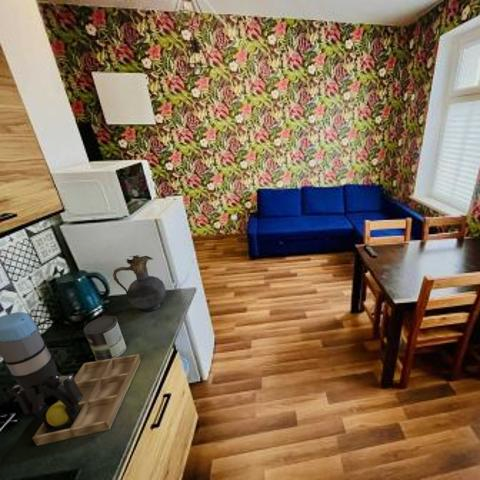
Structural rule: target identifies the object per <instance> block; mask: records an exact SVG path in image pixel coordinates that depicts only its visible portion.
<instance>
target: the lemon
mask: <svg viewBox="0 0 480 480" xmlns="http://www.w3.org/2000/svg"><path fill="white" fill-rule="evenodd" d="M49 407H50V408H49V409H48V411H47V413H46V420H47V422H48V423H49V424H50V425H51V426H60V425H63V424H65V423H66V422H67V421H68V420H69V419H70V418H69V416H68V414H67V413H66V411H65V408H66V407H67V406H65V405H64V404H63V403H62V402H58V401H57V402H55V403H53V404H52V405H50V406H49Z"/></svg>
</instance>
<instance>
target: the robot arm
mask: <svg viewBox="0 0 480 480" xmlns="http://www.w3.org/2000/svg"><path fill="white" fill-rule="evenodd" d="M0 357H1V358H2V360H3V362H4V363H5V365H6V367H7V368H8V370H9V371H10V374H11V375H12V376H13V378H14V380H15V381H16V384H15V385H14V386H13V387H12V388H11V389H10V390H9V393H10V394H11V395H12V396H14V397H15V399H16V401H17V403H18V405H19V406H20V408H21V410H22V412H23V414H24V415H26V416H27V415H30V414H33V415H36V417H37V418H38V420H39V421H41V422H42V423H43V422H44V424H45V426H46V427H47V429H51V428H52V426H51V425H50V424H49V423H48V422H47V420H46V413H47V411H48V409H49V408H50V407H51V406H50V405H46V404H47V402H45V395H44V393H47V394H49V395H50V396H54V398H56V399H57V400H60V401H61V402H62V403H63V404H64V405H65V406H67V407H66V408H65V411H66V413H67V414H68V416H69V418H70V420H71V422H72V424H73V423H74V421H75V420H76V418H77V416H78V414H79V411H78V410H79V405H78V403H79V402H80V400H81V399H82V397H83V395H82V393H81V391H80V390H79V388H78V386H77V384H76V382H75V381H74V377H75V374H74V373H72V372H71V373H69V374H68V375H62V374H61V373H59V372H58V369H57V368H58V367H57V363H56V362H55V360H54V358H53V357H52V355H51V353H50V351H49V349H48V347H47V345H46V343H45V341H44V340H43V337H42V335H41V334H40V332H39V329H38V326H37V324H36V322H34V320H33V319H32V317H31V316H30V314H28V313H27V312H23V311H18V312H17V311H16V312H12V313H10V314H4V315H1V316H0Z"/></svg>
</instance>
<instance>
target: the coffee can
mask: <svg viewBox="0 0 480 480" xmlns="http://www.w3.org/2000/svg"><path fill="white" fill-rule="evenodd" d="M83 334H84V335H85V337H86V339H87V342H88V344H89V347H90V349H91V351H92V353H93V356H94V360H95V361H101V360H107V359H113V358H118V357H121V355H122V354H124V352H125V351H126V350H127V344H126V343H125V339H124V337H123V333H122V330H121V328H120V325H119V322H118V318H117V317H116V316H114V315H105V316H101V317H97V318H96V319H94V320H92V321H90V322H88V323H87V324H86V325H85V326H84V328H83Z"/></svg>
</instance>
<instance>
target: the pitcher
mask: <svg viewBox="0 0 480 480" xmlns="http://www.w3.org/2000/svg"><path fill="white" fill-rule="evenodd" d="M128 257H132V258H131V259H130V258H127V259H126V263H127V264H128V266H120V267H117V268H115V269H114V270H113V272H112V277H113V281H115V283H116V284H117V285H119V287H120V288H122V289H123V290H124V291H125V297H124V300H123V301H124V302H126V300H128V302H129V304H131V306H133V307H135V308H136V309H139V310H140V309H141V310H142V312H143V313H150V312H154V311H156V310H158V309H159V308H160V307H161V303H162V302H163V301H164V299H165V297H166V291H167V289H166V286H165V283H164V282H163V280H162V279H160V278H159V277H157V276H153V275H149V272H148V267H147V263H148V261H153V260H154V258H153V257H151V256H149V255H143V256H140V254H136V255H130V256H128ZM121 271H128V272H129V271H131V272H133V274H134V275H135V278H136V279H135V280H133V281H132V282H131V283H130V285H129V286H128V288H126V287H125V286H124V285H123V284H122V283H121V282H120V281H119V279H118V276H117V274H118V273H119V272H121Z"/></svg>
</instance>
